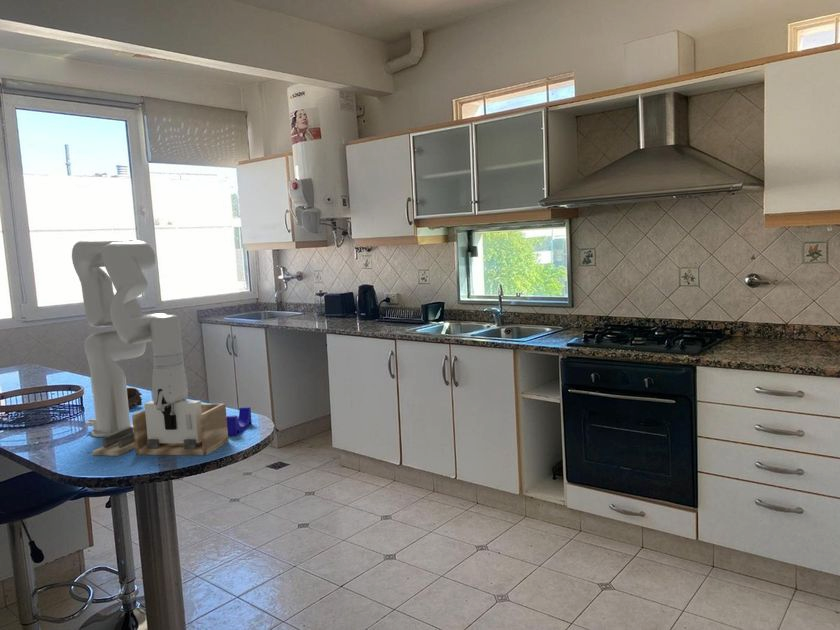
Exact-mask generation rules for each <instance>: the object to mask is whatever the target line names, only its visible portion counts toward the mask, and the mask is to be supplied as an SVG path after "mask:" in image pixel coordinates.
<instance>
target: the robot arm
mask: <svg viewBox="0 0 840 630" xmlns="http://www.w3.org/2000/svg"><path fill="white" fill-rule="evenodd" d="M71 260H72V264H73V265H72V266H73V268H74V270H75V273H76V275H77V277H78V280H79V282H80V286H81V293H82V299H83V306H84V313H85V319H86V322H87V324H88V325H89V326H90V327H92V328H93V327H94V328H106V327H107V328H108V327H113V328H114V329H113V330H104V331H98V332H95V333H92V334H90V335H88V337H86V339H85V340H84V343H83V347H84V352H85V356H86V359H87V364H88V366H89V372H90V380H91V386H92V397H93V406H94V415H95V418H89V419H88V420H87V422H86V427H93V429H92V430H91V431H90V432H91V433H90V434H91V436H92V437H95V438H106V437H108V436H111V435H113V434H115V433H118V432H120V431H122V430H124V429H127V428H129V427H133V422H131V417H130V408H129V407H130V406H128V396H127V388H128V387H127V379H126V374H125V372H124V370H123V369H122V368H121V367H120V366H119V365H118V364H117V363H116V362H118V361H122V360H129V359H135V358H139V357H141V356H142V355H144V353H145V352H146V347H147V342H148V343H149V342H151V350H152V359H153V361H152V362H153V369H152V380H151V382H152V383H151V386H152V387H151V388H152V389H151V391H152V401H153V402H154V404H155V405H157V407H156V409H157V410H159V411H161V412H162V415H163V416H164V422H165V429H166V430H175V429H177V423H176V415H174V403H176V402H178V401H188V400H187V399H188V398H189V397H188V396H189V389H188V388H189V387H188V379H187V375H186V374H187V373H186V368H185V362H184V353H183V352H184V351H183V340H182V331H181V320H180V318H179V316H178V315H177V314H167V313H163V312H158V313H147V314H143V312H142V307H141V303H140V301H139V300H138V297H140V296H141V295H143V293H144V292H145V291H147V289H148V284H149V283H148V279H147V278H146V275H145V274H144V272H143V270H144V271H145V270H146V271H147V270H150V269H152V268H153V267H154V266H155V264H156V254H155V251H154V249H153V247H152V245H150V244H149V243H147V242H146V241H143V240H138V239H133V238H120V237H119V238H88V239H82V240H78V241H77V242H75V244H74V245H73V246H72V249H71ZM102 268H105V270H106V271H104V269H102ZM107 273H108V274H107ZM113 287H114V288H113ZM114 289H115V291H116V292H115V293H114ZM166 406H169V408H170V409H169V408H168V407H166Z"/></svg>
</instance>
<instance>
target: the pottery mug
mask: <svg viewBox="0 0 840 630" xmlns="http://www.w3.org/2000/svg"><path fill="white" fill-rule="evenodd" d="M139 391H140V390H138V389H137V388H134V387H127V396H128V406H129V407H132V406H134V405H136V404H137V405H142V401H143V398H142V397H141V396H143V394H142V393H141V392H139Z"/></svg>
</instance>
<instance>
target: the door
mask: <svg viewBox="0 0 840 630" xmlns="http://www.w3.org/2000/svg"><path fill="white" fill-rule="evenodd" d="M201 404H202V401H201V400H186V401H178V402H176V403H174V415H176V423H177V429H175V430H166V429H165V422H164V416H163V415H162V412H161V411H159V410H157V409H156V407H157V405H155V404H154V402H153V400H150V401H148V402H145V403H144V410H145V416H146V426H147V437H148V439H158V441H159V443H184V440H185V439H195V441H196V443H200V442H202V435H201V424H200V414H202V410H201ZM166 407H168V408H169V406H166ZM169 409H170V408H169Z"/></svg>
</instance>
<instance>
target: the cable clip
mask: <svg viewBox="0 0 840 630" xmlns="http://www.w3.org/2000/svg"><path fill="white" fill-rule="evenodd" d="M251 409H252V408H251V406H240V407H239V411H238V415H226V418H227V429H228V437H237V436H238V435H240V434H241V433H242V432H244V431H245V430H246V429H247V428H249V427H250V426H251V425H253V423H252V412H251V411H252V410H251Z"/></svg>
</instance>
